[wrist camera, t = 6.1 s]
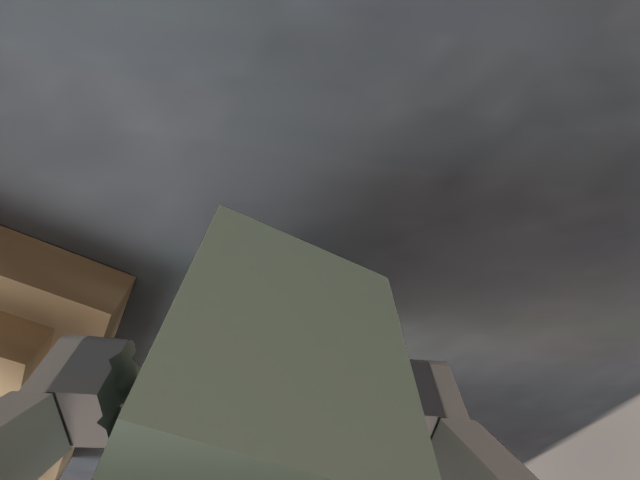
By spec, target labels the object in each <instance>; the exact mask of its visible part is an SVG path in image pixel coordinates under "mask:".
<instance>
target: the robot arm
mask: <svg viewBox="0 0 640 480" xmlns="http://www.w3.org/2000/svg"><path fill="white" fill-rule="evenodd" d="M135 352H136V348H135V343H134V341H132V340H128V339H118V338H107V337H97V336H83V335H73V334H65V335H64V336H62V337H61V338H59V339H58V341H57V342H56V343H55V345H54V346H53V347H52V348H51V350H50V351H49V352H48V354H47V355H46V356H45V357H44V359H43V360H42V361H41V363H40V364H39V365H38V367H37V368H36V369H35V370H34V372H33V373H32V374H31V376H30V377H29V378H28V380H27V381H26V382H25V383H24V385H23V386H22V387H21V389H20V390H19V391H10V392H9V393H7V394H5V395H3V396H2V397H0V480H37V479H38V478H40V477H41V476H42V475H43V474H44V473H45V472H46V471H47V470H49V469H50V468H51V467H52V466H53V465H54V464H55V463H57V462H58V461H59V460H60V459H61V458H62V457H63V456H64V455H66V454H67V453H68V452H69V451H70V450H71V447H88V448H105V447H106V444H107V442H108V439H109V437H110V435H111V432H112V430H113V427H114V425H115V422H116V420H117V418H118V416H119V414H120V411H121V409H122V407H123V405H124V403H125V401H126V399H127V397H128V395H129V393H130V391H131V388H132V386H133V384H134V382H135V380H136V378H137V376H138V374H139V372H140V371H139V364H138V363H137V362H136V361H134V360H133V359H132V358H133V356H134V354H135ZM410 363H411V367H412V370H413V374H414V378H415V382H416V385H417V389H418V393H419V397H420V401H421V404H422V408H423V412H424V416H425V419H426V423H427V427H428V431H429V435H430V438H431V442H432V446H433V450H434V453H435V457H436V461H437V465H438V469H439V472H440V476H441V480H539V479H538V478H537V477H536V476H535V475H534V474H533V473H532V472H531V471H530V470H528V469H527V468H526V467H525V466H524V465H523V464H522V463H521V462H520V461H519V460H518V459H517V458H516V457H515V456H514V455H513V454H512V453H510V452H509V451H508V450H507V449H506V448H505V447H504V446H503V445H502V444H501V443H500V442H499V441H498V440H497V439H496V438H495V437H494V436H493V435H491V434H490V433H489V432H488V431H487V430H486V429H485V428H484V427H483V426H482V425H481V424H480V423H479V422H478V421H477V420H470V418H469V415H468V413H467V410H466V407H465V405H464V402H463V399H462V397H461V394H460V392H459V389H458V386H457V384H456V381H455V378H454V376H453V373H452V371H451V368H450V365H449V364H448V363H447V362H443V361H428V360H427V361H425V360H414V359H410Z"/></svg>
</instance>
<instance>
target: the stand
mask: <svg viewBox="0 0 640 480" xmlns="http://www.w3.org/2000/svg"><path fill="white" fill-rule="evenodd" d="M135 279H136V277H134V276H132V275H129V274H127V273H124V272H121V271H119V270H116V269H113V268H111V267H108V266H106V265H103V264H100V263H98V262H95V261H93V260H90V259H87V258H85V257H82V256H79V255H77V254H74V253H72V252H69V251H66V250H64V249H61V248H58V247H56V246H53V245H51V244H48V243H45V242H43V241H40V240H38V239H35V238H32V237H30V236H27V235H24V234H22V233H19V232H17V231H14V230H11V229H9V228H6V227H3V226H1V225H0V397H2V396H3V395H5V394H7V393H9V392H10V391H19V390H20V389H21V387H22V386H23V385H24V383H25V382H26V381H27V380H28V378H29V377H30V376H31V374H32V373H33V372H34V370H35V369H36V368H37V367H38V365H39V364H40V363H41V361H42V360H43V359H44V357H45V356H46V355H47V354H48V352H49V351H50V350H51V348H52V347H53V346H54V345H55V343H56V342H57V341H58V339H59V338H61V337H62V336H64V335H65V334H73V335H83V336H97V337H107V338H115V335H116V332H117V329H118V326H119V324H120V321H121V318H122V315H123V313H124V310H125V307H126V304H127V301H128V299H129V296H130V293H131V290H132V288H133V285H134V282H135ZM74 449H75V447H71V450H70V451H69V452H68V453H67V454H66V455H64V456H63V457H62V458H61V459H60V460H59V461H58V462H57V463H55V464H54V465H53V466H52V467H51V468H50V469H49V470H47V471H46V472H45V473H44V474H43V475H42V476H41V477H40V478H38V479H37V480H59V479H60V477H61V476H62V474H63V472H64V470H65V468H66V466H67V465H68V463H69V461H70V459H71V457H72V454H73V451H74Z"/></svg>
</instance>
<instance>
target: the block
mask: <svg viewBox="0 0 640 480" xmlns="http://www.w3.org/2000/svg"><path fill="white" fill-rule="evenodd" d="M92 480H441V476H440V472H439V469H438V465H437V461H436V457H435V453H434V450H433V446H432V442H431V438H430V435H429V431H428V427H427V423H426V419H425V416H424V412H423V408H422V404H421V401H420V397H419V393H418V389H417V385H416V382H415V378H414V374H413V370H412V367H411V363H410V359H409V355H408V351H407V348H406V344H405V340H404V336H403V332H402V329H401V325H400V321H399V317H398V314H397V310H396V306H395V302H394V298H393V295H392V291H391V287H390V283H389V280H388V278H387V277H385V276H383V275H381V274H378V273H376V272H374V271H371V270H369V269H367V268H365V267H362V266H360V265H358V264H355V263H353V262H351V261H349V260H346V259H344V258H342V257H339V256H337V255H335V254H333V253H330V252H328V251H326V250H323V249H321V248H319V247H316V246H314V245H312V244H310V243H307V242H305V241H303V240H300V239H298V238H296V237H294V236H291V235H289V234H287V233H284V232H282V231H280V230H278V229H275V228H273V227H271V226H268V225H266V224H264V223H262V222H259V221H257V220H255V219H252V218H250V217H248V216H245V215H243V214H241V213H239V212H236V211H234V210H232V209H229V208H227V207H225V206H223V205H220V204H219V206H218V208H217V211H216V213H215V215H214V217H213V219H212V221H211V223H210V225H209V227H208V229H207V231H206V234H205V236H204V238H203V240H202V242H201V244H200V246H199V248H198V250H197V252H196V255H195V257H194V259H193V261H192V263H191V265H190V267H189V269H188V271H187V273H186V275H185V278H184V280H183V282H182V284H181V286H180V288H179V290H178V292H177V294H176V296H175V298H174V301H173V303H172V305H171V307H170V309H169V311H168V313H167V315H166V317H165V319H164V321H163V324H162V326H161V328H160V330H159V332H158V334H157V336H156V338H155V340H154V342H153V344H152V347H151V349H150V351H149V353H148V355H147V357H146V359H145V361H144V363H143V365H142V368H141V370H140V372H139V374H138V376H137V378H136V380H135V382H134V384H133V386H132V388H131V391H130V393H129V395H128V397H127V399H126V401H125V403H124V405H123V407H122V409H121V411H120V414H119V416H118V418H117V420H116V422H115V425H114V427H113V430H112V432H111V435H110V437H109V439H108V442H107V444H106V447H105V449H104V452H103V454H102V456H101V459H100V461H99V464H98V466H97V468H96V471H95V473H94V476H93V478H92Z"/></svg>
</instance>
